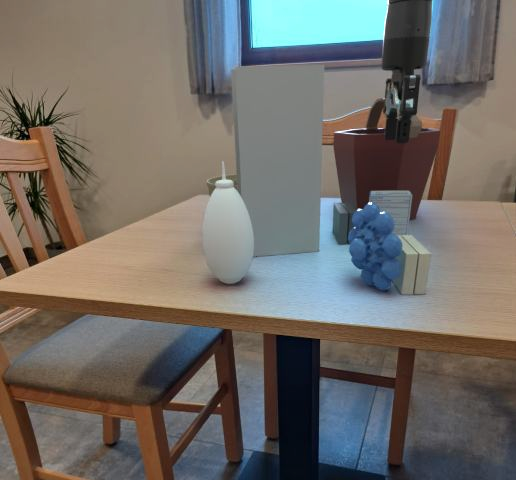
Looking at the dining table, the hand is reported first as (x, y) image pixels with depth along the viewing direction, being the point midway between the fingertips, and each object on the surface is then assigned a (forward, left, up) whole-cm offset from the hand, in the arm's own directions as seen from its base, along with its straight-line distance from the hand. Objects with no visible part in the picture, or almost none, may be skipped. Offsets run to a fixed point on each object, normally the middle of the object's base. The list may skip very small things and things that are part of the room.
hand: (395, 141), depth 86 cm
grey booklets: (+8, 0, -18) cm, 20 cm away
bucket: (-2, -19, -18) cm, 27 cm away
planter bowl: (+29, -9, -18) cm, 35 cm away
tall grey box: (+22, +8, -18) cm, 29 cm away
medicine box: (0, 0, -18) cm, 18 cm away
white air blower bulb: (+30, +25, -18) cm, 43 cm away
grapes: (+9, +28, -18) cm, 35 cm away
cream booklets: (+3, +27, -18) cm, 32 cm away
